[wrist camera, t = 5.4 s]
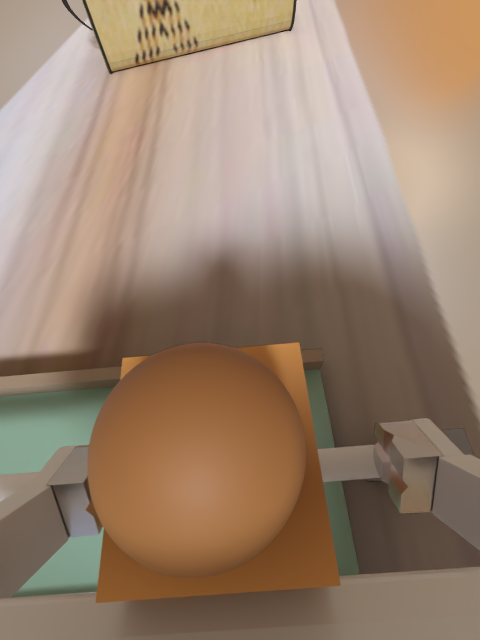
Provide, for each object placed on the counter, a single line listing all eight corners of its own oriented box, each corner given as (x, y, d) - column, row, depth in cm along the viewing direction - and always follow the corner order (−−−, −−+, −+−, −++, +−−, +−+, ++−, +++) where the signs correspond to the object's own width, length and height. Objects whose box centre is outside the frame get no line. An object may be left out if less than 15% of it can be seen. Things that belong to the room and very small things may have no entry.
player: (281, 515, 16) (449, 804, 2) (223, 519, 16) (-107, 839, 2) (272, 432, 18) (313, 231, 3) (219, 437, 18) (49, 256, 4)
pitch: (429, 610, 15) (576, 722, 8) (-326, 662, 16) (-790, 804, 9) (362, 358, 21) (413, 296, 14) (-185, 406, 22) (-397, 369, 15)
